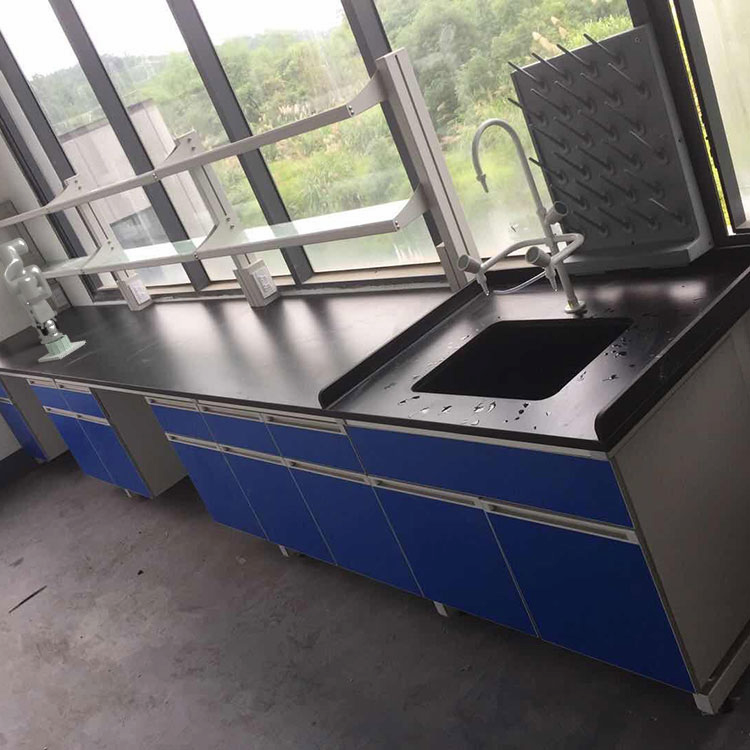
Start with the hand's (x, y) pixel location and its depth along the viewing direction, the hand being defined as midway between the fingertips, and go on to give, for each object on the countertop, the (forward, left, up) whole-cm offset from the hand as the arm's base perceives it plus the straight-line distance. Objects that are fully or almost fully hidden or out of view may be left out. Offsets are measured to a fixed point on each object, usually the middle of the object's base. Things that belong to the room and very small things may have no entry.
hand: (51, 332), depth 411 cm
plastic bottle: (0, 0, -11) cm, 11 cm away
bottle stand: (0, 0, -12) cm, 12 cm away
